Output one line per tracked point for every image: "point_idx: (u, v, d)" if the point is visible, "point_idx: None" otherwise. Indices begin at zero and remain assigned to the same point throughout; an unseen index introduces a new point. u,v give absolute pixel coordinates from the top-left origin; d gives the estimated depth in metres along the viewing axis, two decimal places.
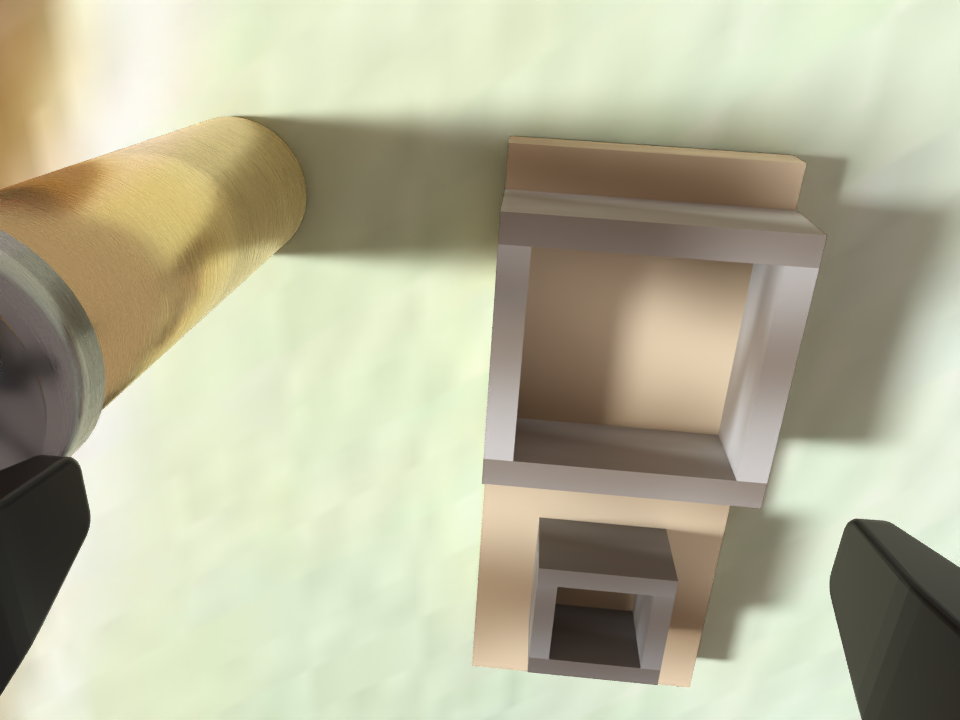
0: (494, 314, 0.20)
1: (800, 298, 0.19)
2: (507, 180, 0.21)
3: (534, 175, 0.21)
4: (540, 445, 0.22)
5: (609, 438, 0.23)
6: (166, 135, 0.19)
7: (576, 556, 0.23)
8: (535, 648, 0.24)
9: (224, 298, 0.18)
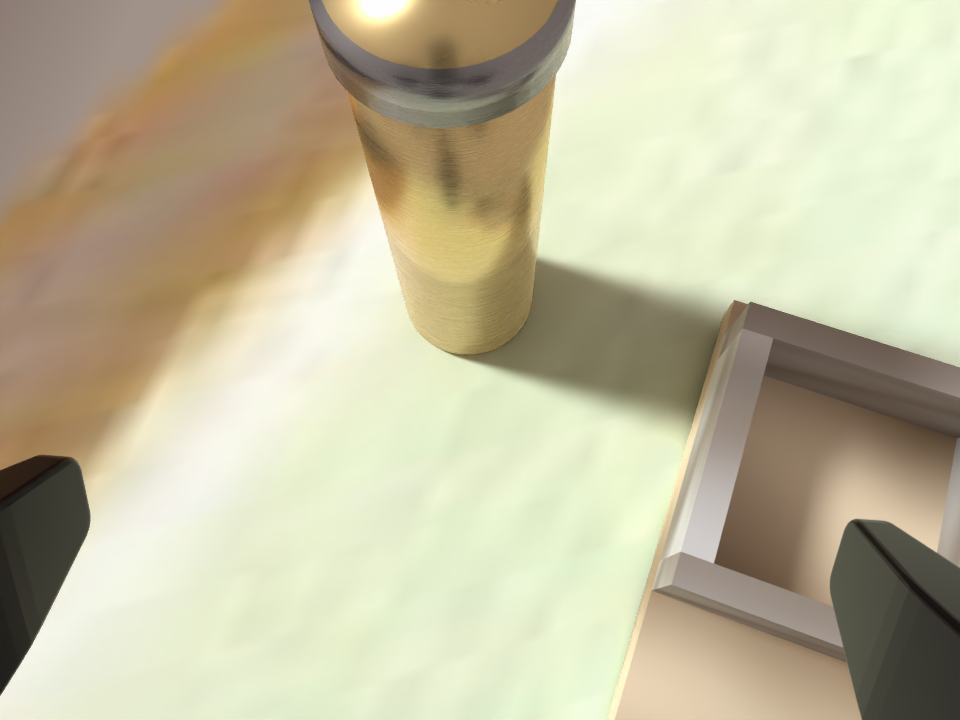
0: (726, 391, 0.20)
1: None
2: (728, 328, 0.23)
3: None
4: None
5: None
6: None
7: None
8: None
9: (497, 276, 0.19)
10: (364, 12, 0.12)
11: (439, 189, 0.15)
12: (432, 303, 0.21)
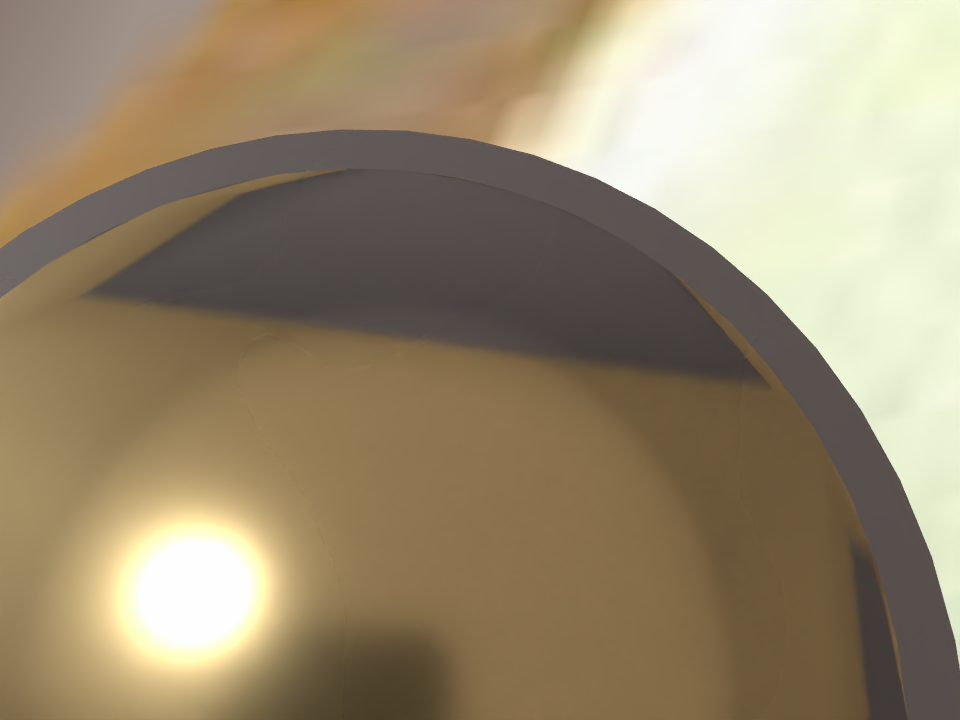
0: None
1: None
2: None
3: None
4: None
5: None
6: None
7: None
8: None
9: None
10: None
11: None
12: None
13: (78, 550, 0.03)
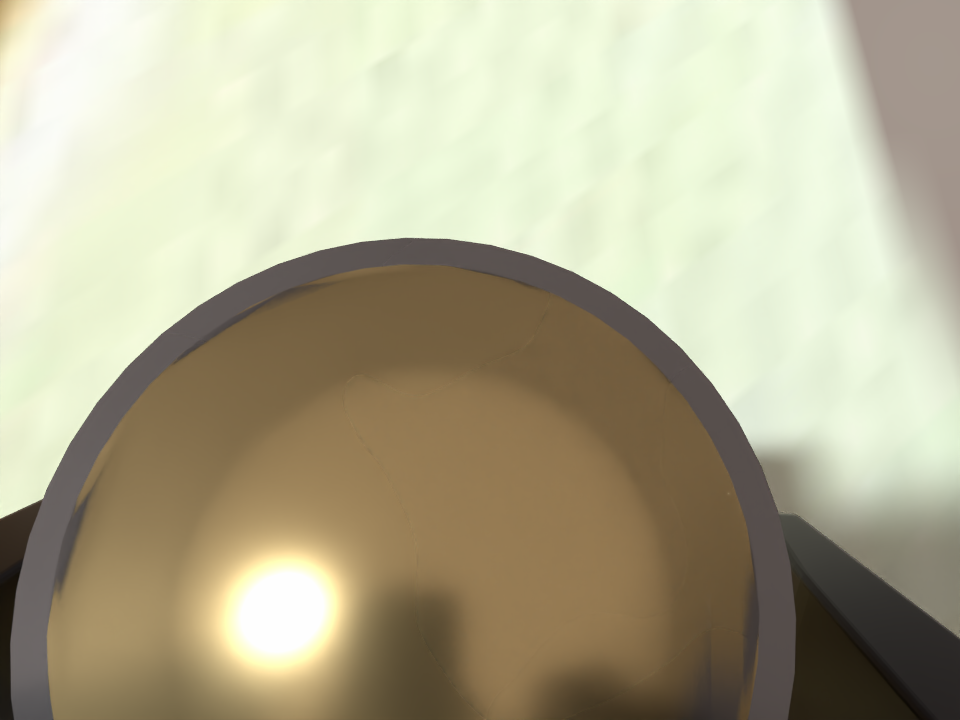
0: None
1: None
2: None
3: None
4: None
5: None
6: None
7: None
8: None
9: None
10: None
11: None
12: None
13: (247, 509, 0.05)
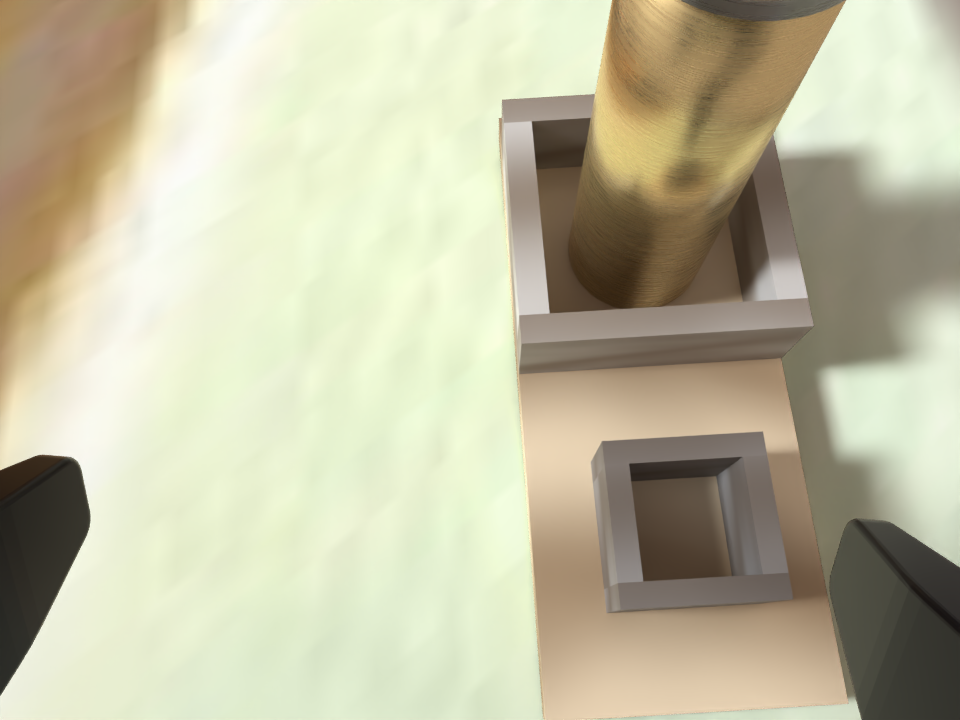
0: (509, 176, 0.22)
1: None
2: (502, 142, 0.25)
3: None
4: None
5: None
6: None
7: None
8: (622, 565, 0.19)
9: (711, 215, 0.19)
10: None
11: (712, 103, 0.14)
12: (627, 248, 0.20)
13: None
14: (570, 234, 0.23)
